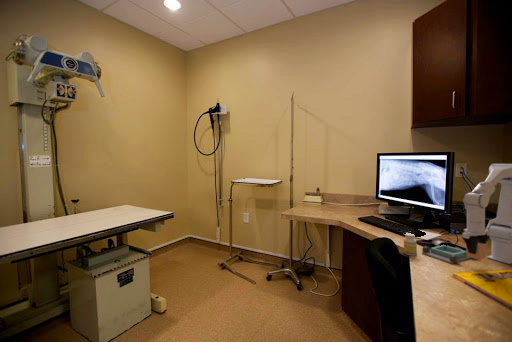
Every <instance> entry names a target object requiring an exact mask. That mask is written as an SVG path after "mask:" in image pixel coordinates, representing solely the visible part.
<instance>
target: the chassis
mask: <svg viewBox="0 0 512 342" xmlns="http://www.w3.org/2000/svg"><path fill="white" fill-rule="evenodd" d="M421 254H423V255H425V256H428V257H431V258H433V259H436V260H439V261H442V262H445V263H448V264H450V265H452V264H458V262H459V263H460V262H463V261H467V260H470V259H473V258H472V257H468V256H466V250H463V249H460V248H456V247H453V246H450V245H447V246H446V245H444V244H443V245H441V246H440V245H437V246H434V247H433V246H432V247H429V246H426V245H424V246H423V247H422V252H421Z"/></svg>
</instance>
